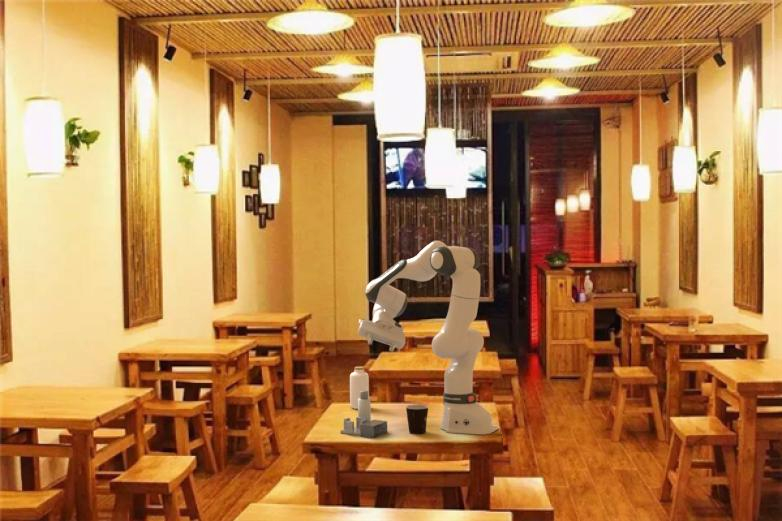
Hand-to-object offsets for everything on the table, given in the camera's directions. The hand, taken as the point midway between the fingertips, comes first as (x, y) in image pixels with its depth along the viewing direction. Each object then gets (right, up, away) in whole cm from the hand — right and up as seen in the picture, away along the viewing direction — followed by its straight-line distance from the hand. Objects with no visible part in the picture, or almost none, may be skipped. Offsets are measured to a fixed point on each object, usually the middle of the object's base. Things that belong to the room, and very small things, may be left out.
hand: (381, 346), depth 359 cm
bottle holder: (-6, -32, -20) cm, 38 cm away
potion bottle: (-10, -30, +30) cm, 43 cm away
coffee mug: (+13, -32, -20) cm, 40 cm away
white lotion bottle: (-6, -31, -7) cm, 33 cm away
